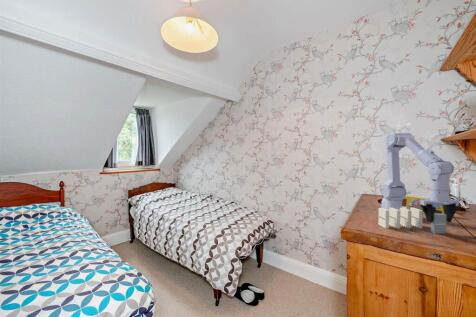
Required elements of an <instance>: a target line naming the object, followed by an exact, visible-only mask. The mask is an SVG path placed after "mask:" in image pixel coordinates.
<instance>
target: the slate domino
mask: <svg viewBox="0 0 476 317" xmlns="http://www.w3.org/2000/svg"><path fill="white" fill-rule="evenodd" d="M446 218H447V215H446V214H434V219H433V223H431V222H430V233H433V234H446V233H447V221H446Z"/></svg>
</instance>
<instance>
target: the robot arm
mask: <svg viewBox="0 0 476 317" xmlns="http://www.w3.org/2000/svg"><path fill="white" fill-rule="evenodd" d="M405 147H407V148H408V149H410V150H411V151H412V152H413V153H415V155H417V159H418V160H419V161H420V162H421V163H422V164H423V165H424V166H425V167H426V170H427V172H428V175H429V179H430V198H428V199H426V200H420V206H421V207H422V209H423V211H424V213H423V214H424V215H425V218H426V222H429V223H430V224H431V223H433V219H434V212H435V210H436V207H433V206H432V205H442V206H443V209H444V214H446V215H447V218H446V223H447V222H448V223H451V222H452V221H453V218H454V216H455V214H456V213H457V211H458V210H459V209H460V206H459V205H460V201H459V200H457V199H450V181H451V179H450V177H451V176H450V175H452V174H454V171H455V167H454V165H453V164H452V162H451V161H448V160H443V158H441V157H440V156H438V155H437V154H435V151H434V150H430V149H425V148H424V147H423V146H422V145H421V144H420V143H419V142H418V141H417V140H416V139H415V136H414V135H413V134H412V133H410V132H390V133H388V135H387V136H386V137H385V148H386V150H385V152H386V154H385V155H386V169H387V170H386V171H387V181H385V182H383V184H382V190H381V193H382V196H383V198H382V199H381V207H380V208H384V209H386V210H388V211H389V208H395V209H397V210H400V208H403V200H404V199H405V197H407V195H408V194H407V189H406V187H405V186H406V184H404V182H402V181H401V173H400V172H401V170H400V169H401V168H400V151H401V150H402V149H404V148H405Z"/></svg>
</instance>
